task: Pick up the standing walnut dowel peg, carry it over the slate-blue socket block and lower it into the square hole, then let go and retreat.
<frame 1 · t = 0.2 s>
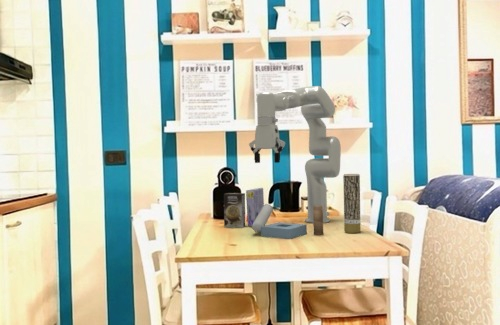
hand: (267, 162, 194), 31 cm above the table, tool pointing down, fingers open, 9 cm apart
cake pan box: (256, 224, 227), on the table
coffee box: (234, 227, 219), on the table
socket: (284, 235, 195), on the table
peg: (318, 234, 194), on the table
tube: (261, 223, 205), point 3 cm above the table, touching socket
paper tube: (352, 232, 198), on the table
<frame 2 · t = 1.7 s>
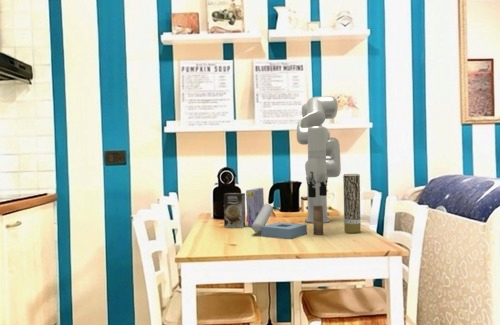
hand: (317, 196, 193), 16 cm above the table, tool pointing down, fingers open, 9 cm apart
nothing on the table moved.
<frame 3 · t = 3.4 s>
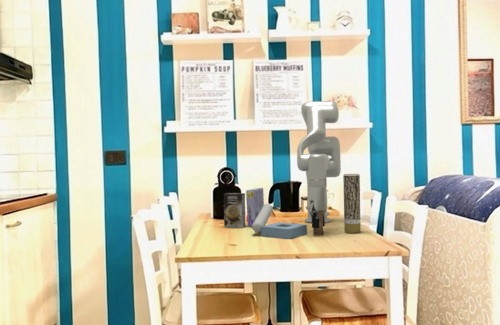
hand: (318, 226, 194), 3 cm above the table, tool pointing down, fingers closed on peg, 4 cm apart
peg: (318, 234, 194), on the table, touching gripper
everything else where it was.
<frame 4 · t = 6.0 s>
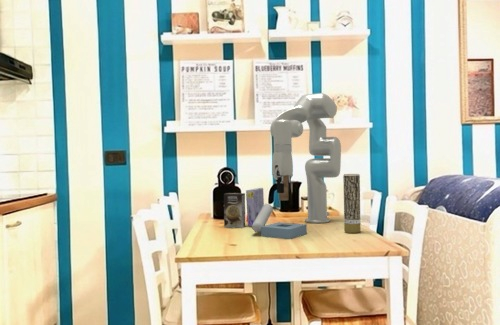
hand: (283, 192, 194), 18 cm above the table, tool pointing down, fingers closed on peg, 4 cm apart
peg: (283, 200, 194), point 15 cm above the table, touching gripper
everything else where it was.
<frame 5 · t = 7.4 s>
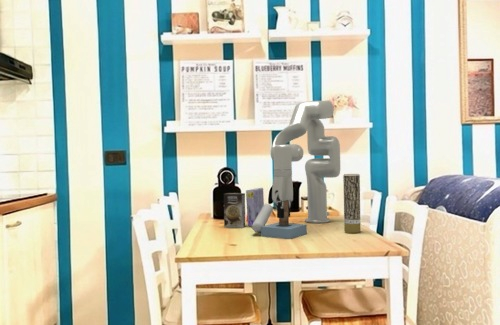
hand: (283, 216, 194), 8 cm above the table, tool pointing down, fingers closed on peg, 4 cm apart
peg: (283, 224, 194), point 4 cm above the table, touching gripper
everything else where it was.
when the fingers open (5 cm above the table, at t = 8.6 s): peg drops 1 cm, resting in socket.
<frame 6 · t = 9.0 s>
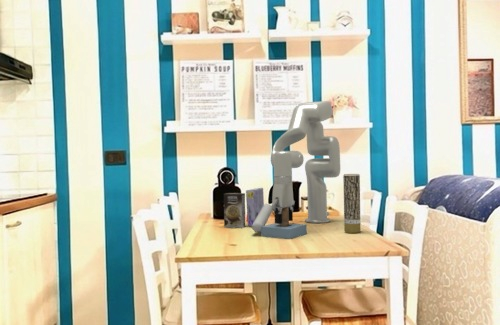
hand: (283, 221, 195), 6 cm above the table, tool pointing down, fingers open, 8 cm apart
peg: (284, 235, 195), resting in socket
everything else where it was.
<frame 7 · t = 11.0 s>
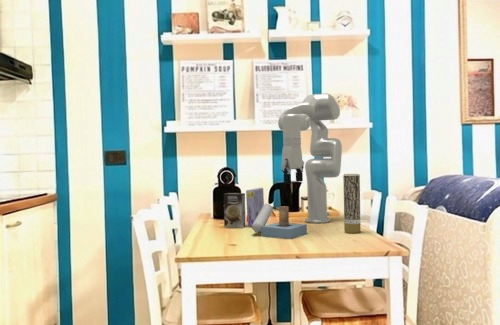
hand: (293, 182, 199), 22 cm above the table, tool pointing down, fingers open, 9 cm apart
nothing on the table moved.
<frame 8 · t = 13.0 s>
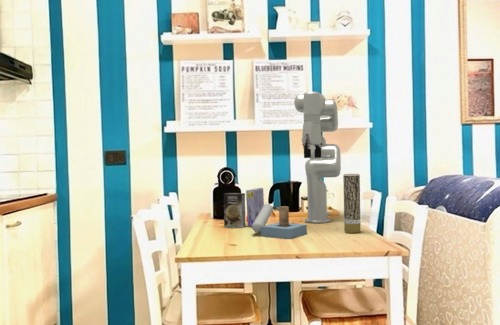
hand: (312, 157, 207), 32 cm above the table, tool pointing down, fingers open, 9 cm apart
nothing on the table moved.
at the end: peg 0.1 cm off-centre on the socket, point 0.0 cm above the socket's base; peg tilted 0°; the gripper is holding nothing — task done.
